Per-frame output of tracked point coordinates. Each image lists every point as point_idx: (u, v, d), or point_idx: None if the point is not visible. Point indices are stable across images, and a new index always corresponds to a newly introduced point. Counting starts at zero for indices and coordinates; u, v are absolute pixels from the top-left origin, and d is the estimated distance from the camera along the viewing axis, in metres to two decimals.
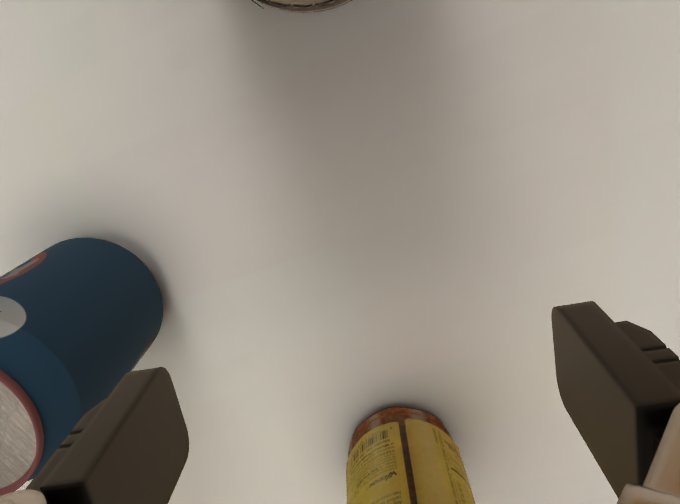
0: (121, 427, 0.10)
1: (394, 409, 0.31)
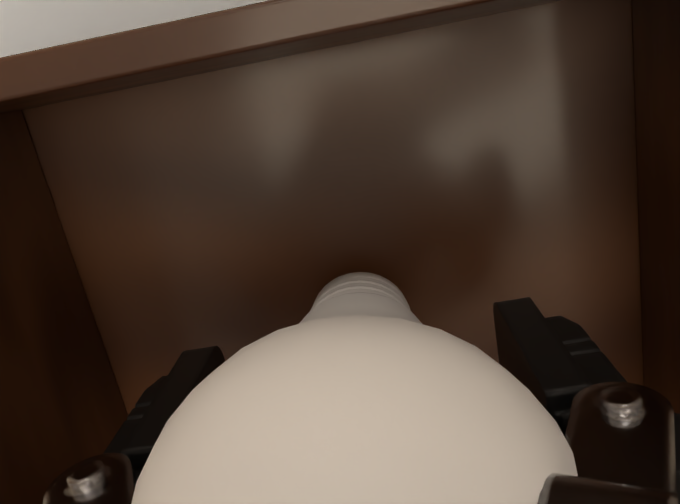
0: None
1: None
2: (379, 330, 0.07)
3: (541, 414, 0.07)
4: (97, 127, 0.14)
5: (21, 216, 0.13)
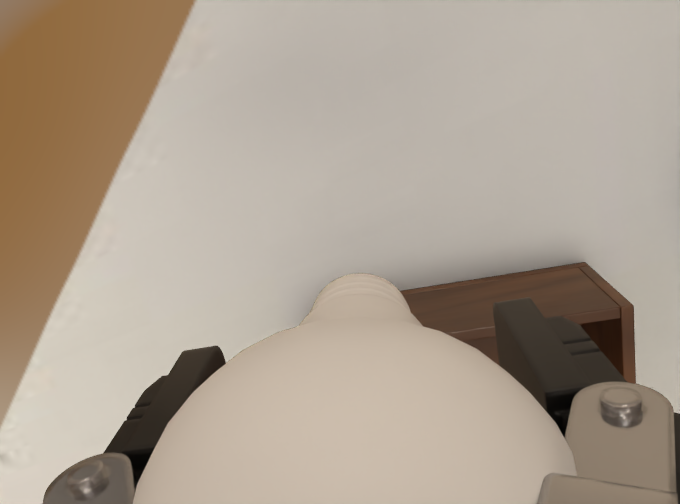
0: None
1: None
2: (379, 332, 0.07)
3: (542, 416, 0.07)
4: None
5: None
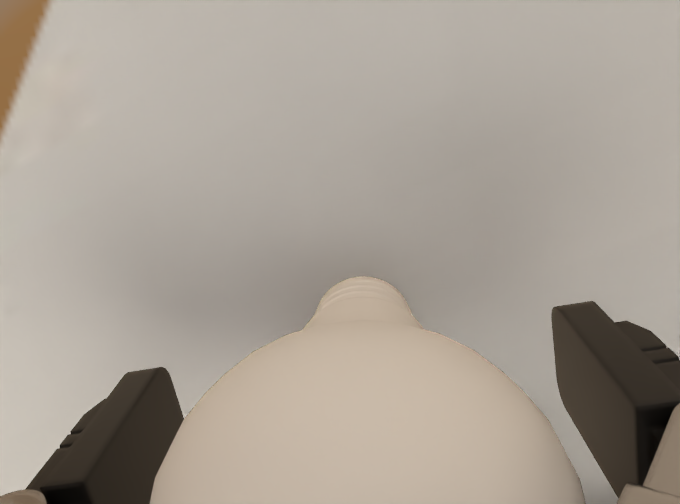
0: (121, 427, 0.10)
1: None
2: (382, 336, 0.08)
3: (534, 413, 0.07)
4: None
5: None
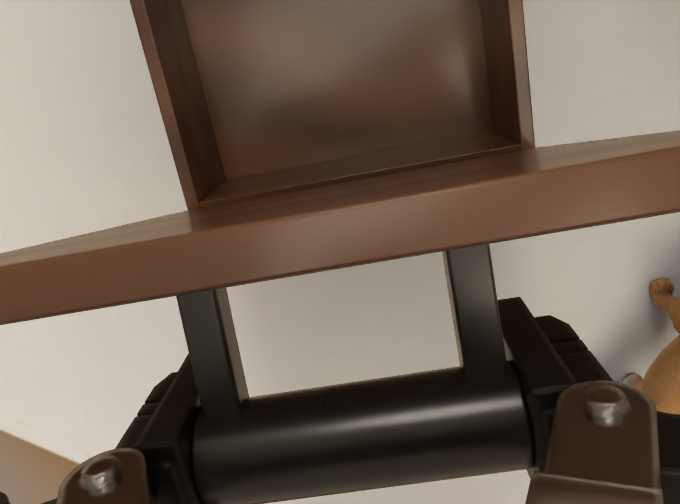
0: None
1: None
2: None
3: None
4: None
5: None
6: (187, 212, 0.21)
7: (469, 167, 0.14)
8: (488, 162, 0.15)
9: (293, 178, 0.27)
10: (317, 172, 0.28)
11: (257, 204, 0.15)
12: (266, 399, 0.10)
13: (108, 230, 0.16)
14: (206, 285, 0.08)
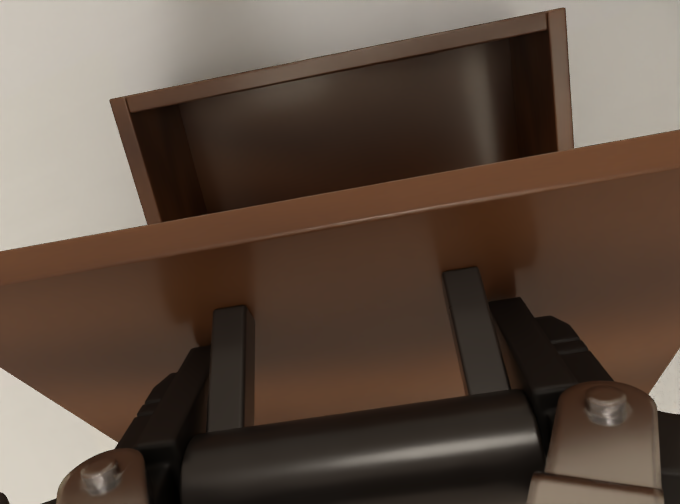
0: (199, 395, 0.10)
1: None
2: None
3: None
4: (218, 111, 0.25)
5: (181, 159, 0.25)
6: None
7: None
8: None
9: None
10: None
11: None
12: None
13: None
14: (241, 239, 0.10)
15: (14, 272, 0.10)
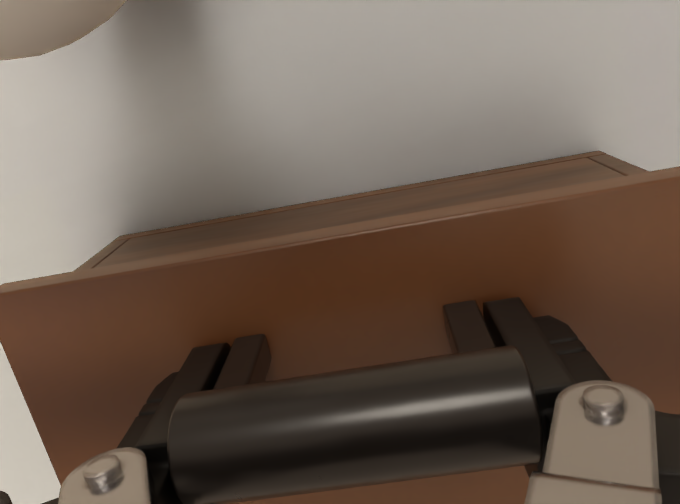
0: None
1: None
2: None
3: None
4: None
5: None
6: None
7: None
8: None
9: None
10: None
11: None
12: None
13: None
14: (269, 247, 0.12)
15: (82, 276, 0.12)
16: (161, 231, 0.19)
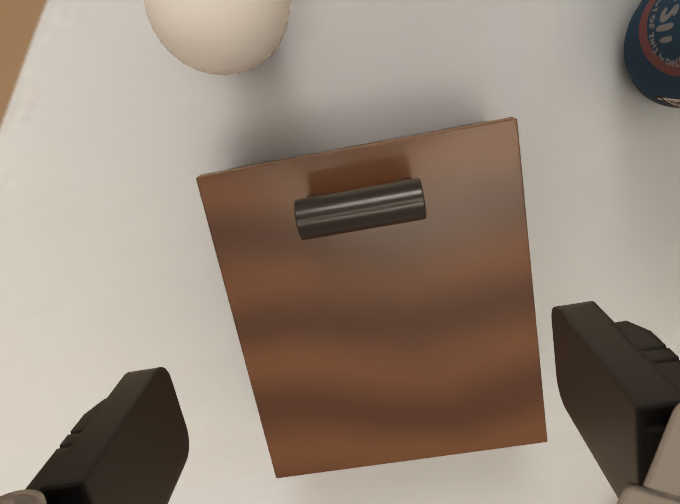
0: (121, 427, 0.10)
1: None
2: None
3: None
4: None
5: None
6: None
7: None
8: None
9: None
10: None
11: None
12: None
13: None
14: (323, 154, 0.28)
15: (240, 168, 0.28)
16: None
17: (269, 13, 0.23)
